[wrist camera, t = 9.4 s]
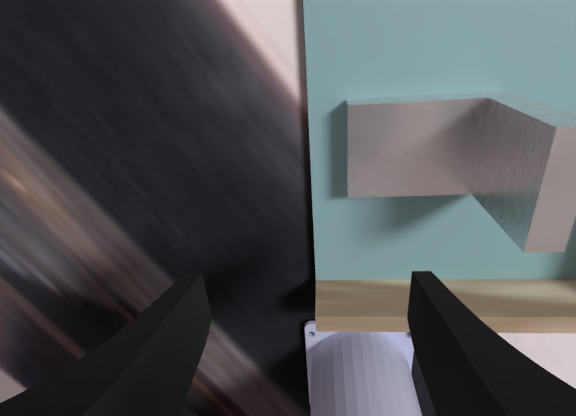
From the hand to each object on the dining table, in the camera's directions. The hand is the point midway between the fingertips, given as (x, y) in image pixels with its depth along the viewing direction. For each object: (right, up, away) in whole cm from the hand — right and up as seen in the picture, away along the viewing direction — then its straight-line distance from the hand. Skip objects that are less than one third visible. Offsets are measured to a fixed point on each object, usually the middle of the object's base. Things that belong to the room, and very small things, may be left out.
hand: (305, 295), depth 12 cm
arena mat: (+9, +6, +8) cm, 13 cm away
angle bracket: (+7, +7, +7) cm, 12 cm away
